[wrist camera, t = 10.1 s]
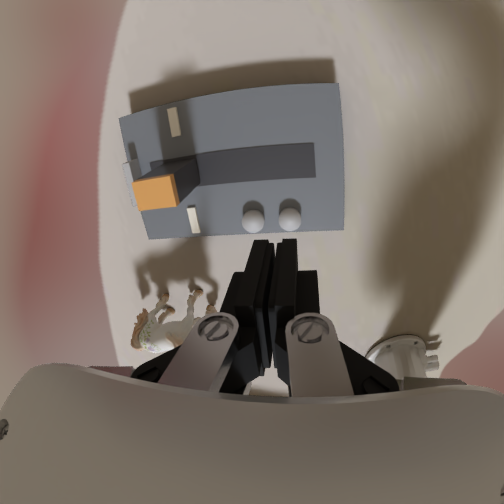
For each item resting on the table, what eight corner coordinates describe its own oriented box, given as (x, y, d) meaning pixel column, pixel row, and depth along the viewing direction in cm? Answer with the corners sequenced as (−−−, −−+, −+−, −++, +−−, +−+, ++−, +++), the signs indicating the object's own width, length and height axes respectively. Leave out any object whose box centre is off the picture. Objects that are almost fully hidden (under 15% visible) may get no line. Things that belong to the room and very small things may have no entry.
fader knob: (195, 158, 27) (169, 176, 22) (200, 183, 29) (176, 206, 23) (162, 164, 28) (131, 182, 22) (167, 187, 30) (138, 211, 24)
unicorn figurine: (254, 289, 40) (239, 364, 28) (170, 330, 48) (143, 389, 36) (223, 253, 37) (193, 325, 26) (142, 304, 45) (107, 361, 34)
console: (334, 85, 24) (342, 81, 20) (339, 219, 32) (346, 238, 28) (131, 115, 29) (108, 120, 24) (158, 229, 37) (142, 247, 32)
